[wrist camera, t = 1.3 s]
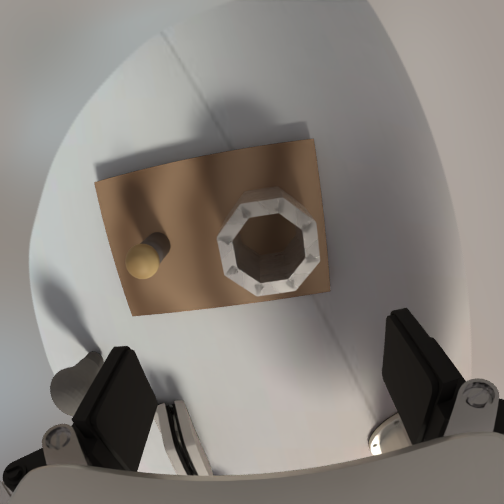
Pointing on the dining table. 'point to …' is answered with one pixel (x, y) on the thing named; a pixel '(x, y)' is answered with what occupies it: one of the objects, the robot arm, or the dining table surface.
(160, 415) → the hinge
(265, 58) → the dining table surface
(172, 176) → the keeper base
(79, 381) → the light bulb
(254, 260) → the white hollow octagonal cylinder
